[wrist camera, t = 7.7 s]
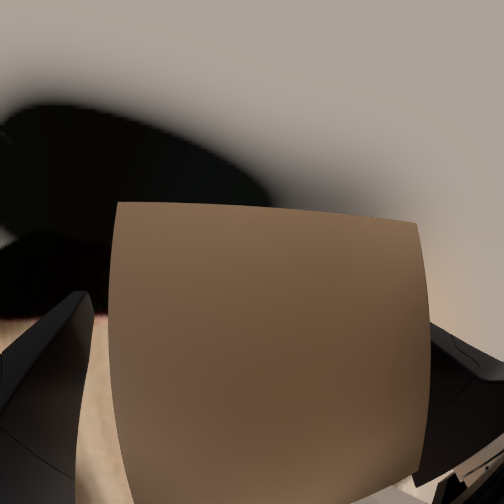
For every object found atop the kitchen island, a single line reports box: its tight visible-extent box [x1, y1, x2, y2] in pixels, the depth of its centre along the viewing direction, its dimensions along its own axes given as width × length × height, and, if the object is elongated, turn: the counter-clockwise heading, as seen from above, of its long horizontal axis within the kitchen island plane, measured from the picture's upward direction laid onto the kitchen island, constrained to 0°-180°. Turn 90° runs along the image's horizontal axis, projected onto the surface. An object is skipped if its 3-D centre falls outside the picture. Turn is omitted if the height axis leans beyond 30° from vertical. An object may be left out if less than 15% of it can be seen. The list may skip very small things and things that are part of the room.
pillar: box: [108, 202, 431, 504], centre depth 9 cm, size 4×4×13 cm
